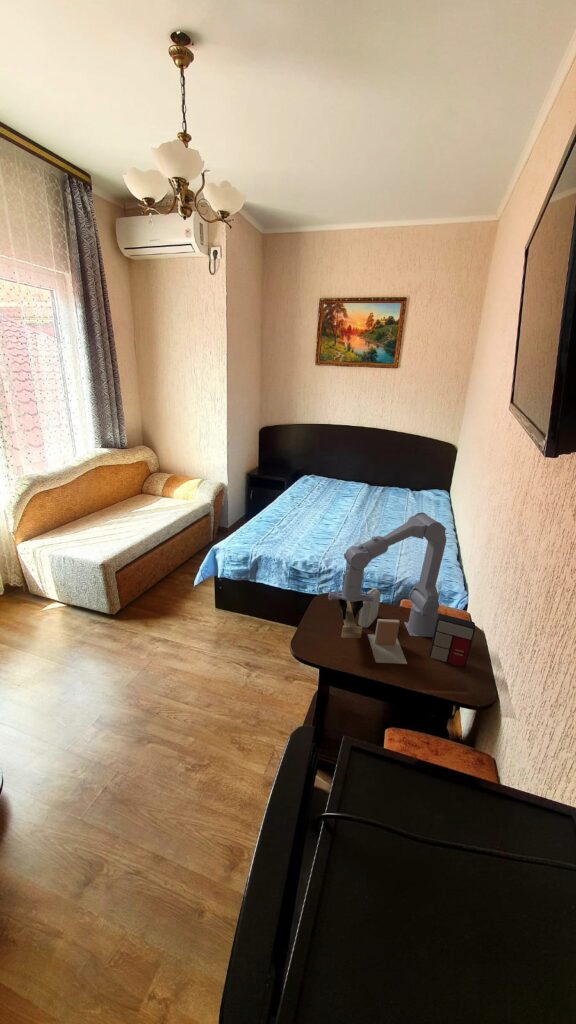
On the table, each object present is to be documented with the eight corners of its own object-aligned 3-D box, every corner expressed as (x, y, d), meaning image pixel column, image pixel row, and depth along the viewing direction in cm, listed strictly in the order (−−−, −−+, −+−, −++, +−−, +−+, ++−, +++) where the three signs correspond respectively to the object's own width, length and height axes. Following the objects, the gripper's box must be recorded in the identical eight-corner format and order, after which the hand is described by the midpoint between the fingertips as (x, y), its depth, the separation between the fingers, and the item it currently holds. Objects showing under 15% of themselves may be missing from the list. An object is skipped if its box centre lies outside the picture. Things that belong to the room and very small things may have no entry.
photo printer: (366, 630, 143) (371, 600, 139) (355, 625, 146) (360, 595, 141) (378, 617, 151) (383, 588, 147) (367, 613, 154) (372, 584, 149)
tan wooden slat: (353, 609, 143) (354, 600, 142) (360, 638, 128) (362, 627, 127) (336, 609, 143) (337, 599, 141) (341, 637, 128) (343, 626, 127)
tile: (394, 642, 137) (398, 620, 134) (395, 645, 136) (399, 622, 132) (374, 641, 137) (377, 618, 134) (374, 644, 135) (378, 621, 132)
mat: (395, 637, 141) (396, 635, 141) (407, 665, 128) (407, 663, 127) (367, 635, 141) (367, 634, 140) (375, 663, 127) (375, 662, 127)
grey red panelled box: (428, 659, 131) (437, 619, 126) (429, 651, 135) (438, 612, 130) (465, 669, 128) (475, 629, 122) (464, 661, 131) (475, 622, 126)
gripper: (372, 577, 134) (367, 612, 139) (329, 575, 134) (325, 610, 139) (377, 588, 128) (371, 625, 132) (331, 586, 127) (327, 622, 132)
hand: (348, 618), depth 135 cm, fingers closed on tan wooden slat, 2 cm apart
